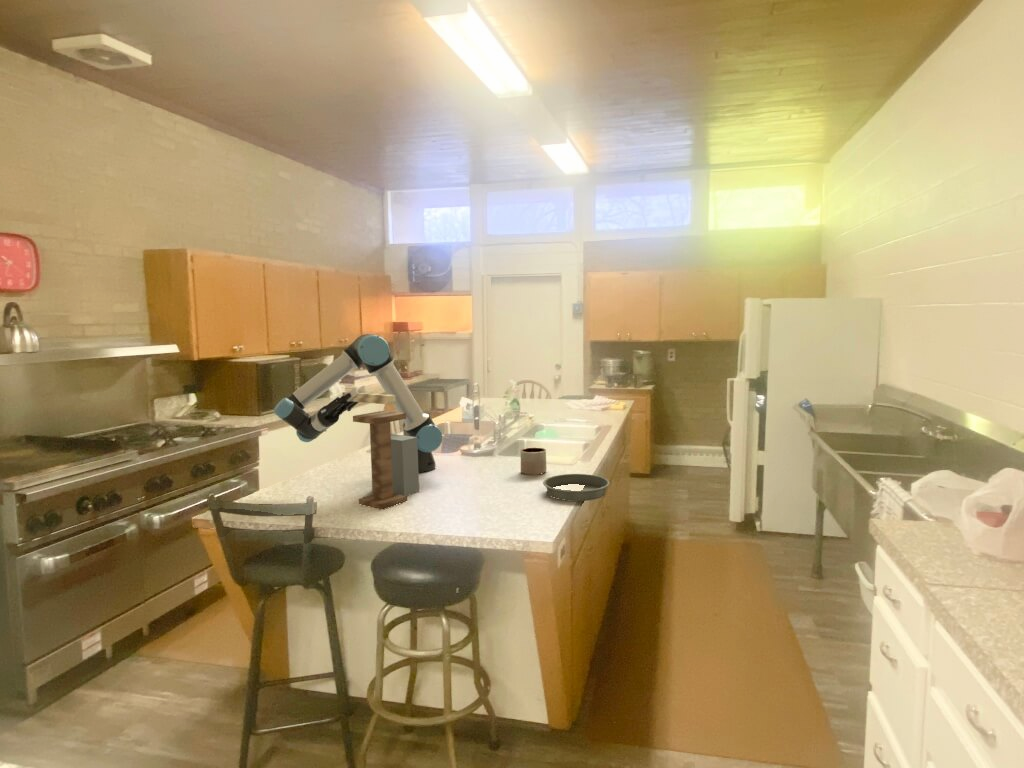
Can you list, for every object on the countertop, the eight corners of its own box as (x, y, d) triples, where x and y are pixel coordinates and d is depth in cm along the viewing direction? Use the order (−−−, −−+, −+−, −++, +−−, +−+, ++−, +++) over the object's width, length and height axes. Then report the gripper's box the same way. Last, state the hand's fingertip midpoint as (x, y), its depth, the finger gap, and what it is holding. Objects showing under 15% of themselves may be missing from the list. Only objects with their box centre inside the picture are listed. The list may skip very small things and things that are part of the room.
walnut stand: (356, 505, 234) (352, 416, 231) (385, 495, 246) (382, 410, 242) (380, 510, 227) (376, 418, 224) (409, 500, 239) (405, 413, 235)
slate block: (372, 490, 254) (370, 436, 252) (387, 485, 261) (385, 433, 258) (404, 496, 244) (402, 440, 242) (419, 491, 251) (417, 437, 248)
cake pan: (532, 489, 252) (532, 477, 251) (589, 482, 261) (589, 471, 260) (561, 506, 229) (560, 493, 229) (622, 497, 238) (622, 485, 238)
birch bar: (342, 400, 241) (342, 392, 241) (349, 399, 244) (348, 391, 243) (389, 404, 228) (389, 395, 227) (395, 403, 230) (395, 395, 230)
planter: (516, 474, 275) (516, 451, 274) (526, 468, 285) (525, 446, 284) (541, 476, 271) (541, 453, 270) (550, 470, 281) (549, 448, 280)
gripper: (345, 423, 256) (381, 396, 243) (311, 430, 243) (347, 401, 230) (338, 406, 258) (373, 378, 245) (304, 411, 245) (339, 382, 232)
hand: (360, 389), depth 237 cm, fingers closed on birch bar, 3 cm apart
